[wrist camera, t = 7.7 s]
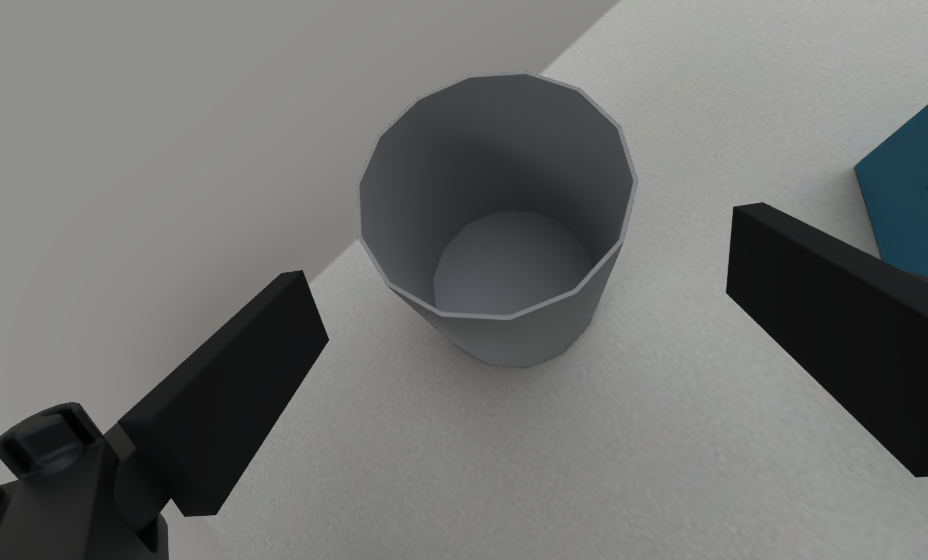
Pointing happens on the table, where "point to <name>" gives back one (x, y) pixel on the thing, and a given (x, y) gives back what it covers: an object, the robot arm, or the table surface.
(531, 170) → the cup
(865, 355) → the robot arm
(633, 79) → the table surface
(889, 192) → the camera mount
